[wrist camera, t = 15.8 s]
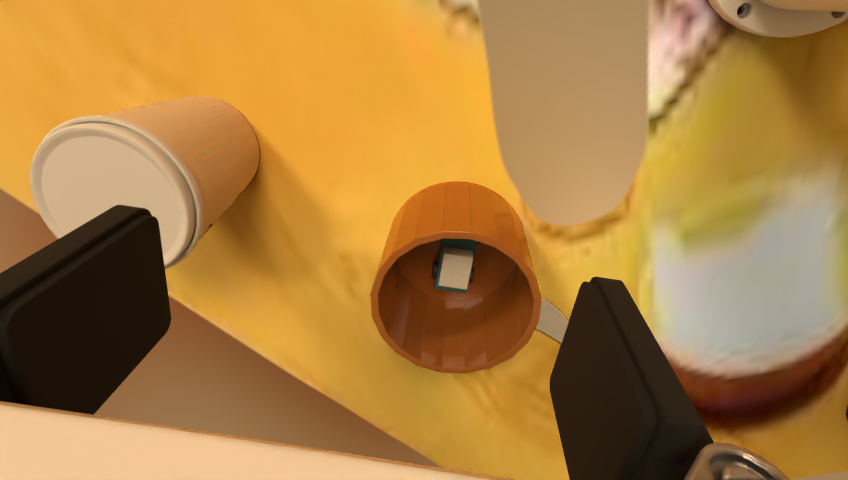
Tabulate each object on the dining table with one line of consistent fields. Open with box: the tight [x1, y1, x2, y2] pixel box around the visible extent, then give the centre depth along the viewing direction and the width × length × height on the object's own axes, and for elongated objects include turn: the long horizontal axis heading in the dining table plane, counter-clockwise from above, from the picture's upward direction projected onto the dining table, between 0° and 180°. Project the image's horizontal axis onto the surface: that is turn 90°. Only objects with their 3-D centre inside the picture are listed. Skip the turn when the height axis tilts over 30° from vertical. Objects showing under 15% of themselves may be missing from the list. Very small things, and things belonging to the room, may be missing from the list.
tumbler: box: [371, 182, 542, 373], centre depth 35 cm, size 11×11×9 cm
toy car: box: [432, 238, 480, 293], centre depth 37 cm, size 6×3×3 cm, turn 173°
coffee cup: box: [30, 96, 260, 269], centre depth 32 cm, size 9×9×12 cm
